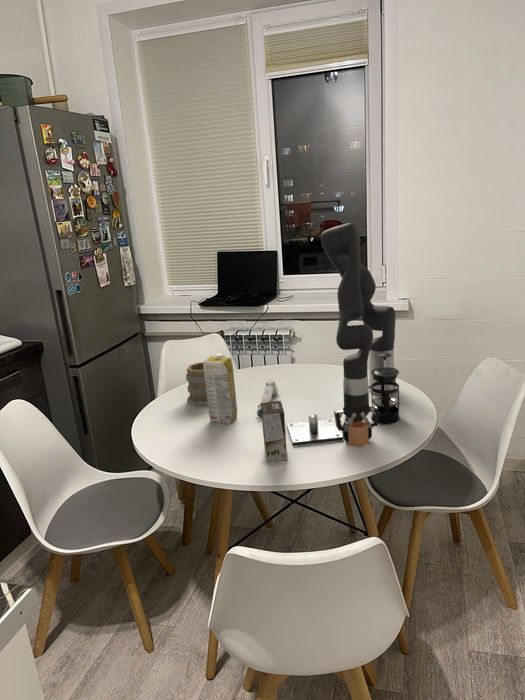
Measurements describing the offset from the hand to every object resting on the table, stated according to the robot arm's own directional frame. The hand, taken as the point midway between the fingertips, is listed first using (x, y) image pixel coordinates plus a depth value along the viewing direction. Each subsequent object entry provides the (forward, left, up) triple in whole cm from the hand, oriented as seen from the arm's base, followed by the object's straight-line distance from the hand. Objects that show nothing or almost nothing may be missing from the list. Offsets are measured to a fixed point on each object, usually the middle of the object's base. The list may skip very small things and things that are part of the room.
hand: (357, 439), depth 161 cm
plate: (+12, -9, -1) cm, 15 cm away
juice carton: (+41, -28, -1) cm, 50 cm away
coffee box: (+26, +3, -1) cm, 26 cm away
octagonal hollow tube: (0, 0, -1) cm, 1 cm away
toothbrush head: (+24, -38, -1) cm, 45 cm away
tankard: (+45, -51, -1) cm, 68 cm away
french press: (-13, -14, -1) cm, 19 cm away
